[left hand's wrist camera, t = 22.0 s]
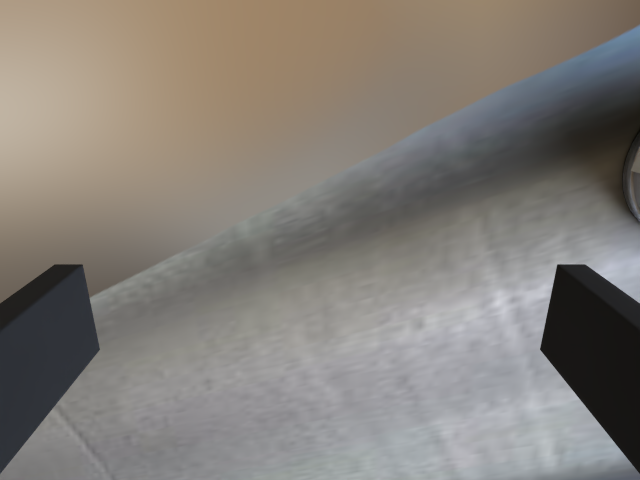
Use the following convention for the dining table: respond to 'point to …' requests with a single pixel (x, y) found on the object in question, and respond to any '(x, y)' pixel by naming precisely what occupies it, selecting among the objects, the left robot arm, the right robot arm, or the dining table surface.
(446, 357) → the dining table surface
